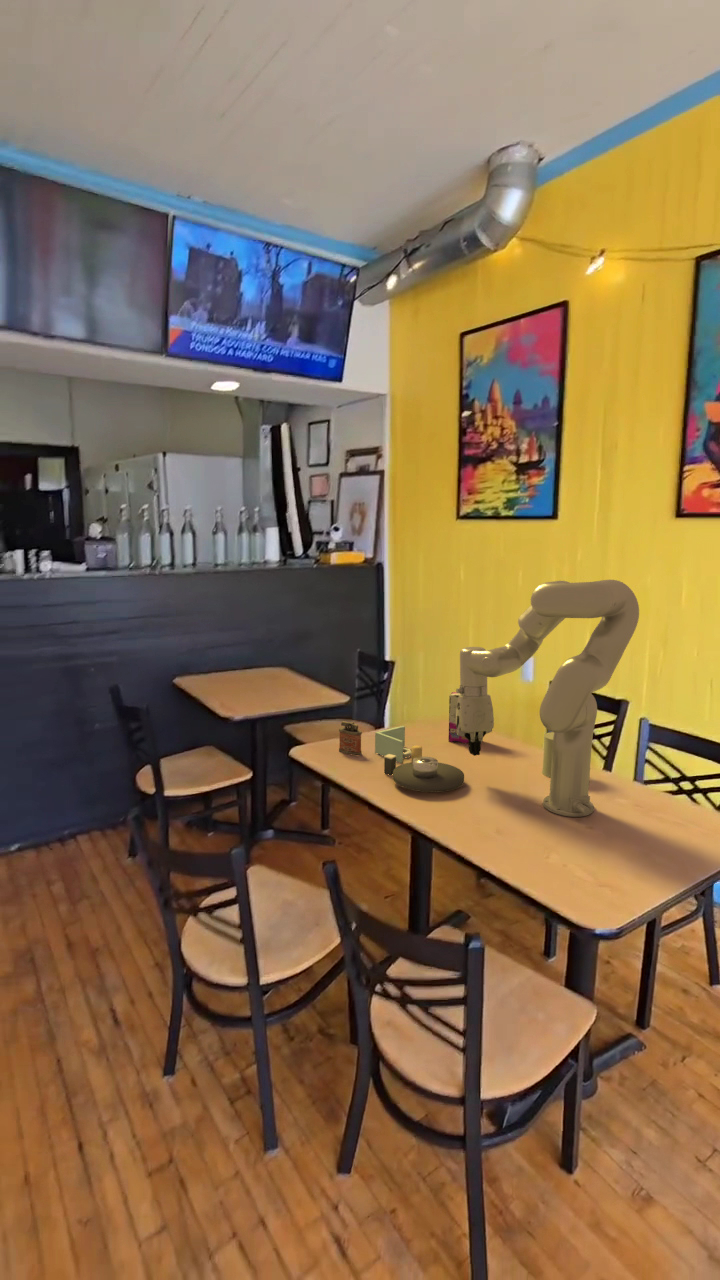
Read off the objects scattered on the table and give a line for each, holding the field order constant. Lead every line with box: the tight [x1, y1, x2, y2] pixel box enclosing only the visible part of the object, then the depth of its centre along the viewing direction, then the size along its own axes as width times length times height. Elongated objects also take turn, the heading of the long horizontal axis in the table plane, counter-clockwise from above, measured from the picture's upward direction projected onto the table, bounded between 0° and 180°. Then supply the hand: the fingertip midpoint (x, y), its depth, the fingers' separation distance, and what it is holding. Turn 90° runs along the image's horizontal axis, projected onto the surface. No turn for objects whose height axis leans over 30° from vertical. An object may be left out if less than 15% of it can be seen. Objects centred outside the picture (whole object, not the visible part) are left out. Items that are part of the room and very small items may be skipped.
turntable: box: [392, 745, 465, 793], centre depth 192 cm, size 20×20×6 cm
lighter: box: [338, 720, 363, 756], centre depth 218 cm, size 8×3×10 cm, turn 58°
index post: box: [383, 754, 397, 776], centre depth 200 cm, size 3×3×5 cm
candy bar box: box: [448, 691, 484, 744], centre depth 230 cm, size 11×5×16 cm, turn 73°
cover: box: [412, 756, 439, 779], centre depth 191 cm, size 7×7×4 cm
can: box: [541, 731, 554, 779], centre depth 201 cm, size 9×9×12 cm
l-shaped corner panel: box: [374, 725, 412, 764], centre depth 217 cm, size 12×12×8 cm
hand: (474, 754), depth 195 cm, fingers closed
